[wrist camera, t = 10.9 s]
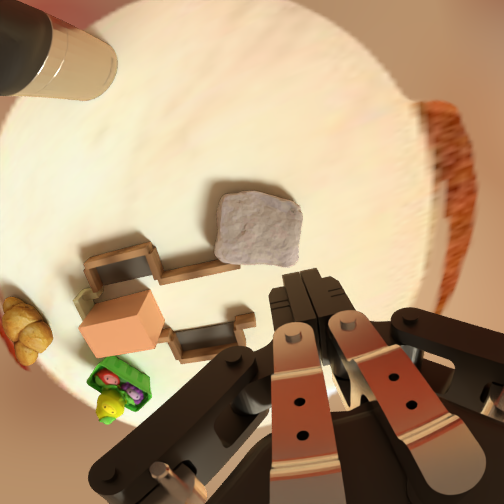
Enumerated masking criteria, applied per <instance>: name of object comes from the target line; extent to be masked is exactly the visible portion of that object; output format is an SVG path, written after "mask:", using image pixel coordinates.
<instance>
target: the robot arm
mask: <svg viewBox="0 0 504 504" xmlns="http://www.w3.org/2000/svg"><path fill="white" fill-rule="evenodd" d="M117 65H118V61H117V56H116V53H115V51H114V50H113V48H112V47H111V46H109V45H108V44H106V43H105V42H103V41H101V40H99V39H97V38H96V37H94V36H92V35H90V34H88V33H86V32H84V31H82V30H80V29H78V28H76V27H75V26H73V25H71V24H69V23H67V22H64V21H62V20H60V19H58V18H56V17H54V16H52V15H49V14H47V13H45V12H43V11H41V10H39V9H36V8H34V7H31V6H29V5H27V4H24V3H22V2H19V1H17V0H0V96H28V97H45V98H58V99H68V100H79V101H88V100H92V99H95V98H96V97H98V96H100V95H101V94H102V93H104V92H105V91H106V90H107V89H108V87H109V86H110V85H111V83H112V82H113V80H114V78H115V75H116V72H117ZM282 278H283V284H284V286H283V287H278V288H273V289H272V290H271V292H270V294H269V302H270V308H271V313H272V319H273V325H274V331H275V332H274V335H273V339H272V341H271V342H270V343H269V344H268V345H267V346H265V347H263V348H261V349H259V350H257V351H254V352H253V350H252V349H250V348H248V347H245V346H232V347H229V348H226V349H224V350H222V351H221V352H220V353H218V354H217V355H216V356H215V357H214V358H213V359H212V360H211V361H210V362H209V363H208V364H207V365H206V366H205V367H203V368H202V369H201V370H200V371H199V372H198V373H197V374H196V375H195V376H194V377H193V378H192V379H190V380H189V381H188V382H187V383H186V384H185V385H184V386H183V387H182V388H181V389H180V390H178V391H177V392H176V393H175V394H174V395H173V396H172V397H171V398H170V399H168V400H167V401H166V402H165V403H164V404H163V405H162V406H161V407H159V408H158V409H157V410H156V411H155V412H154V413H153V414H152V415H150V416H149V417H148V418H147V419H146V420H145V421H144V422H142V423H141V424H140V425H139V426H138V427H137V428H135V429H134V430H133V431H132V432H131V433H130V434H128V435H127V436H126V437H125V438H124V439H123V440H121V441H120V442H119V443H118V444H117V445H115V446H114V447H113V448H112V449H111V450H109V451H108V452H107V453H106V454H105V455H103V456H102V457H101V458H100V459H99V460H98V461H96V462H95V463H94V464H93V466H92V467H91V469H90V471H89V475H88V481H89V484H90V486H91V488H92V489H93V490H94V491H95V492H97V493H98V494H99V495H100V496H102V497H103V498H104V499H105V500H107V502H108V503H109V504H504V334H503V333H500V332H496V331H493V330H489V329H486V328H482V327H479V326H475V325H472V324H468V323H465V322H462V321H459V320H455V319H452V318H448V317H445V316H442V315H438V314H435V313H431V312H428V311H425V310H421V309H418V308H412V307H408V308H402V309H399V310H397V311H396V312H394V313H393V315H392V317H391V321H383V322H374V321H369V319H368V318H367V317H366V316H365V315H364V314H363V313H361V312H359V311H356V310H355V308H354V307H353V305H352V303H351V301H350V300H349V298H348V296H347V295H346V293H345V291H344V289H343V288H342V286H341V284H340V283H339V281H338V280H336V279H334V278H333V277H331V276H329V277H325V278H321V276H320V274H319V272H318V270H317V268H313V269H308V270H304V271H300V274H299V272H294V273H290V274H285V275H282ZM424 351H426V352H428V353H431V354H434V355H437V356H440V357H443V358H446V359H449V360H450V361H452V362H453V364H454V365H455V369H452V368H449V367H446V366H444V365H441V364H438V363H435V362H432V361H429V360H427V359H424V358H423V356H424ZM321 361H322V364H323V366H325V365H330V366H331V369H332V379H333V382H334V384H335V387H336V389H337V391H338V393H339V395H340V397H341V400H342V402H343V404H344V406H345V409H346V411H341V412H330V407H329V401H328V396H327V391H326V385H325V380H324V375H323V370H322V367H321ZM271 407H272V433H270V434H269V435H267V436H265V437H264V438H262V439H261V440H260V441H259V442H257V443H256V444H255V445H254V446H253V447H252V448H251V449H250V450H249V452H248V453H247V454H246V455H245V457H244V458H243V459H242V460H241V462H240V463H239V464H238V465H237V467H236V468H235V469H234V470H233V471H232V473H231V474H230V475H229V476H228V478H227V479H226V480H225V481H224V482H223V483H222V485H221V486H220V487H219V488H218V489H217V490H216V492H215V493H214V494H213V495H212V496H211V497H210V498H209V500H208V501H207V502H206V499H207V491H206V488H205V487H204V486H205V485H206V484H207V483H208V482H209V481H210V480H211V479H212V478H213V477H214V476H215V475H216V474H217V473H218V472H219V470H220V469H221V468H222V467H223V466H224V465H225V464H226V463H227V462H228V461H229V459H230V458H231V457H232V456H233V455H234V454H235V453H236V452H237V450H238V449H239V448H240V447H241V446H242V445H243V444H244V442H245V441H246V440H247V439H248V437H250V435H251V434H252V433H253V432H254V431H255V429H256V428H257V427H258V426H259V425H260V423H261V422H262V421H263V420H264V418H265V417H266V416H267V414H268V412H269V408H271ZM205 502H206V503H205Z"/></svg>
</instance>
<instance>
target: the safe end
mask: <svg viewBox="0 0 504 504" xmlns="http://www.w3.org/2000/svg"><path fill="white" fill-rule="evenodd" d="M85 291H86V289H83V290H82V291H81V292H80V293H79V295H78V296H77V297H76V298H75V299H74V300H73V302H74V304H75V306H76V308H77V310H78V312H79V314H80V316H81V318H82V320H84V319H85V318H86V316H87V315H88V313H89V312H90V311H91V309H92V308H93V306H94V305H95V304H94V301H93V299H91V300H86V301H84V300H83V298H82V296H81V295H82V294H83V293H84V292H85Z"/></svg>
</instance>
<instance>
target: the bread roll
mask: <svg viewBox="0 0 504 504" xmlns="http://www.w3.org/2000/svg"><path fill="white" fill-rule="evenodd" d="M3 311H4V313H5V314H4V315H3V317H2V322H3V328H4V331H5V334H6V336H7V337H8V338H9V339H10V340H11V341H12V342H13V343H14V349H15V354H16V358H17V360H18V362H19V363H20V364H22V365H24V366H29V365H31V364H33V363H34V362H35V361H36V359H37V357H38V353H42V352H43V351H45V350H46V348H47V347H48V346H49V345H50V344H51V342H52V340H53V335H52V331H51V329H50V327H49V326H48V324H46V323H45V322H44V321H43V319H42V317H41V315H40V314H39V312H38V311H37V310H36V309H35V308H34V307H33V306H31V305H29V304H25V303H24V302H23V301H22V300H20V299H18V298H16V297H8V298H6V299H5V301H4V303H3Z"/></svg>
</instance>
